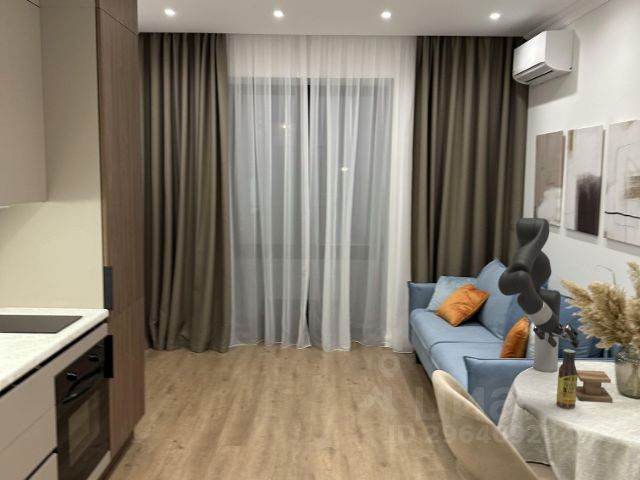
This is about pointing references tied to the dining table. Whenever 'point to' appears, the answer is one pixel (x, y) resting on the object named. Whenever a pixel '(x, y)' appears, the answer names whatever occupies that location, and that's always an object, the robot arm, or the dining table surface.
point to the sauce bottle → (567, 380)
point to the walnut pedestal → (593, 386)
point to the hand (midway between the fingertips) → (565, 345)
